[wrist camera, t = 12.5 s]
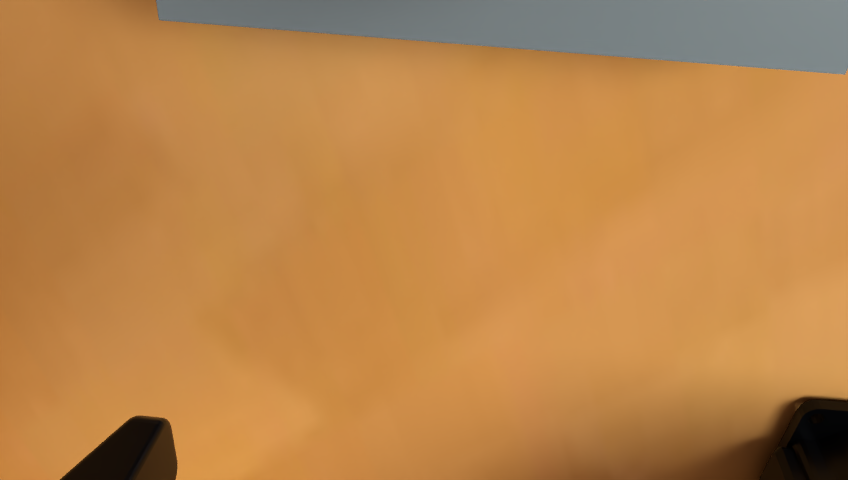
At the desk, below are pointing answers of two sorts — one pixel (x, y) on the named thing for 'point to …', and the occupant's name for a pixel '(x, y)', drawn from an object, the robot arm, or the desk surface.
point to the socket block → (569, 26)
